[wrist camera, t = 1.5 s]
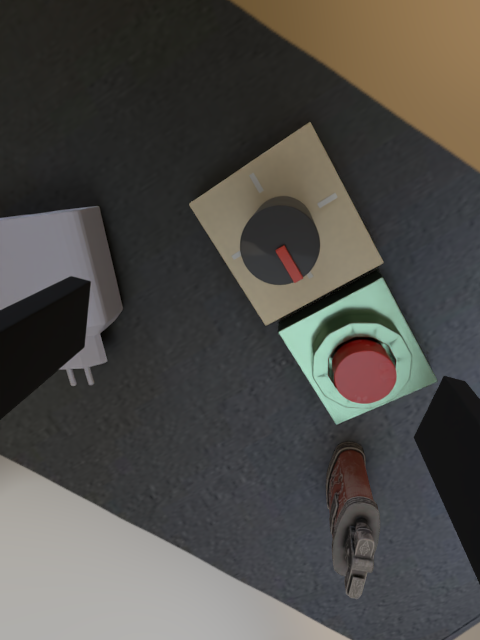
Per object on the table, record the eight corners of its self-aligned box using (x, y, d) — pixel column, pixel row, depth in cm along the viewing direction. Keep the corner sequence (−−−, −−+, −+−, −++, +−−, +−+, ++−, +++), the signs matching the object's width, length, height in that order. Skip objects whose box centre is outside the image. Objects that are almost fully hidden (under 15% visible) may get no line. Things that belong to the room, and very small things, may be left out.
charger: (51, 374, 39) (1, 216, 34) (141, 369, 38) (103, 204, 33) (20, 400, 35) (-42, 224, 30) (121, 396, 33) (73, 210, 28)
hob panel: (195, 201, 32) (187, 204, 29) (308, 125, 29) (310, 121, 26) (267, 315, 34) (265, 327, 32) (377, 256, 31) (384, 263, 29)
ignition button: (321, 354, 31) (323, 367, 29) (374, 328, 30) (380, 339, 28) (347, 398, 32) (351, 412, 30) (400, 375, 31) (407, 388, 29)
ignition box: (278, 322, 34) (276, 341, 31) (377, 270, 32) (388, 283, 28) (333, 411, 37) (338, 438, 33) (429, 369, 34) (446, 393, 30)
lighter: (333, 439, 38) (346, 528, 29) (369, 444, 38) (395, 535, 28) (321, 504, 41) (329, 604, 31) (354, 509, 40) (373, 611, 31)
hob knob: (240, 217, 29) (223, 234, 22) (294, 183, 28) (294, 189, 21) (271, 268, 30) (265, 300, 23) (324, 238, 29) (335, 261, 22)
